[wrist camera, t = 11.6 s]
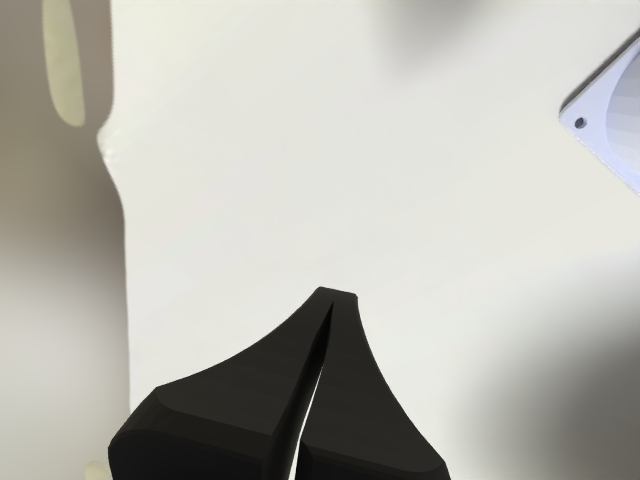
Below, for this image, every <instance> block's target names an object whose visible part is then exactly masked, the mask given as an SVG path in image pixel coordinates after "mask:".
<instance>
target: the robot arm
mask: <svg viewBox="0 0 640 480" xmlns="http://www.w3.org/2000/svg"><path fill="white" fill-rule="evenodd" d="M580 117H582V118H583V124H582V125H581V126H580V127H578V128H576V127H575V121H576V120H577V119H578V118H580ZM559 122H560V123H561V124H562V125H563V126H564V127H565V128H566V129H567V130H568V131H569V132H570V133H571V134H573V135H574V136H575V137H576V138H577V139H578V140H579V141H580V142H581V143H582V144H584V145H585V146H586V147H587V148H588V149H589V150H590V151H591V152H592V153H593V154H595V155H596V156H597V157H598V158H599V159H600V160H601V161H602V162H603V163H604V164H606V165H607V166H608V167H609V168H610V169H611V170H612V171H613V172H614V173H615V174H617V175H618V176H619V177H620V178H621V179H622V180H623V181H624V182H625V183H626V184H628V185H629V186H630V187H631V188H632V189H633V190H634V191H635V192H636V193H637V194H639V195H640V36H639V37H638V38H637V39H636V40H635V41H634V42H633V43H632V44H631V45H630V46H629V47H628V48H627V49H626V50H625V51H624V52H623V53H621V54H620V55H619V56H618V57H617V58H616V59H615V60H614V61H613V62H612V63H611V64H610V65H609V66H608V67H607V68H606V69H605V70H603V71H602V72H601V73H600V74H599V75H598V76H597V77H596V78H595V79H594V80H593V81H592V82H591V83H590V84H589V85H588V86H587V87H586V88H584V89H583V90H582V91H581V92H580V93H579V94H578V95H577V96H576V97H575V98H574V99H573V100H572V101H571V102H570V103H569V104H568V105H566V106H565V107H564V108H563V109H562V111H561V112H560V114H559ZM322 367H323V368H322ZM321 370H322V371H321ZM320 373H321V374H320ZM319 375H320V378H319ZM318 378H319V381H318ZM317 381H318V385H317V388H316V391H315V395H314V398H313V401H312V405H311V408H310V411H309V414H308V417H307V420H306V423H305V426H304V429H303V432H302V435H301V438H300V444H299V452H298V459H297V466H296V474H295V480H451V478H450V475H449V472H448V469H447V466H446V463H445V461H444V460H443V459H442V458H441V456H440V455H439V454H438V453H437V452H436V451H435V449H434V448H433V447H432V446H431V445H430V444H429V443H428V441H427V440H426V439H425V438H424V437H423V436H422V435H421V433H420V432H419V431H418V429H417V428H416V427H415V425H414V424H413V423H412V421H411V420H410V419H409V417H408V416H407V414H406V413H405V411H404V410H403V408H402V407H401V405H400V404H399V402H398V401H397V399H396V398H395V396H394V395H393V393H392V392H391V390H390V388H389V386H388V384H387V383H386V381H385V379H384V377H383V375H382V373H381V371H380V369H379V367H378V365H377V363H376V361H375V359H374V357H373V354H372V352H371V349H370V347H369V344H368V341H367V339H366V336H365V332H364V329H363V326H362V322H361V319H360V314H359V309H358V297H357V296H356V294H354V293H349V292H344V291H340V290H335V289H330V288H325V287H318V288H317V289H316V290H315V291H314V292H313V294H312V295H311V296H310V297H309V298H308V299H307V300H306V301H305V302H304V303H303V304H302V306H301V307H299V308H298V309H297V310H296V311H295V312H294V313H293V314H292V315H291V316H290V317H289V318H288V319H286V320H285V321H284V322H283V323H282V324H280V325H279V326H278V327H277V328H275V329H274V330H273V331H272V332H270V333H269V334H268V335H266V336H265V337H263V338H262V339H261V340H259V341H258V342H256V343H255V344H253V345H252V346H250V347H248V348H247V349H245V350H243V351H241V352H240V353H238V354H236V355H235V356H233V357H231V358H229V359H227V360H225V361H223V362H221V363H219V364H217V365H214V366H212V367H210V368H208V369H205V370H203V371H201V372H198V373H196V374H193V375H191V376H188V377H185V378H182V379H179V380H176V381H173V382H170V383H167V384H165V385H161V386H158V387H156V388H155V389H154V390H153V391H152V392H151V393H150V394H149V395H148V396H147V397H146V398H145V399H144V400H143V401H142V402H141V404H140V405H139V406H138V407H137V408H136V409H135V410H134V412H133V413H132V414H131V416H130V417H129V418H128V419H127V421H126V422H125V423H124V425H123V426H122V427H121V428H120V430H119V431H118V432H117V433H116V435H115V436H114V438H113V439H112V440H111V442H110V445H109V447H108V459H109V465H110V469H111V473H112V477H113V480H288V479H289V474H290V470H291V466H292V462H293V458H294V454H295V450H296V446H297V442H298V438H299V434H300V431H301V428H302V424H303V421H304V418H305V415H306V412H307V410H308V407H309V404H310V401H311V398H312V395H313V393H314V390H315V387H316V384H317Z"/></svg>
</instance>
